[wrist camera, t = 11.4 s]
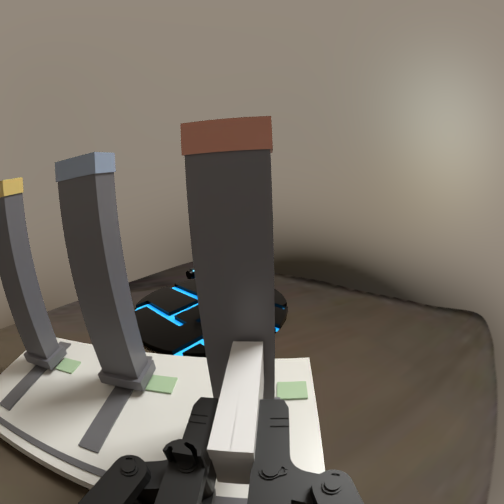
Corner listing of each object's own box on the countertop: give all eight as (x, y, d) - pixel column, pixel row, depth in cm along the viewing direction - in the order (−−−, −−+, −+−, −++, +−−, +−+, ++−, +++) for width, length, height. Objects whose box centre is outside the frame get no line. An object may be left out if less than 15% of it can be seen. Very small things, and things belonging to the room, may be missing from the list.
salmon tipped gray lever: (213, 436, 16) (171, 123, 10) (220, 404, 19) (192, 132, 14) (280, 438, 15) (278, 114, 10) (279, 405, 18) (277, 126, 13)
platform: (199, 389, 23) (188, 332, 22) (107, 315, 37) (97, 274, 35) (316, 303, 39) (318, 260, 38) (212, 273, 53) (209, 240, 51)
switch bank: (-24, 418, 12) (-33, 405, 12) (48, 345, 27) (43, 333, 27) (325, 523, 10) (330, 515, 9) (307, 370, 25) (309, 356, 25)
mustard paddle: (26, 361, 21) (-19, 188, 16) (42, 347, 24) (3, 184, 19) (51, 370, 20) (1, 180, 15) (67, 353, 23) (26, 176, 18)
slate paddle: (101, 382, 20) (49, 163, 15) (116, 362, 23) (75, 162, 18) (143, 391, 20) (95, 151, 14) (155, 368, 23) (120, 152, 18)
